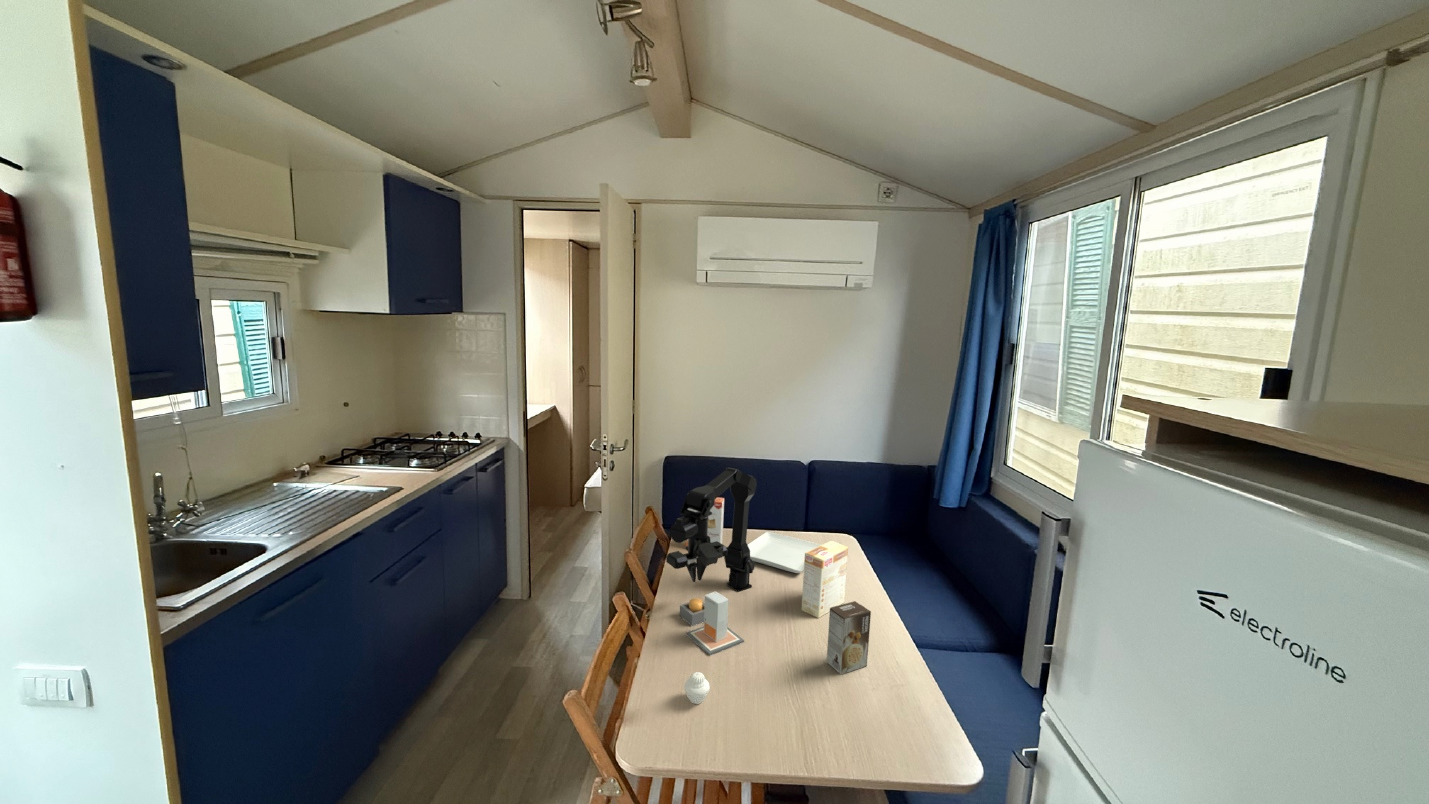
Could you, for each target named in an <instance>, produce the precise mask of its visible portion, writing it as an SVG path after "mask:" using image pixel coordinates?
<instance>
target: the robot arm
mask: <svg viewBox="0 0 1429 804" xmlns="http://www.w3.org/2000/svg"><path fill="white" fill-rule="evenodd" d="M757 484H758V482H757V479H756V478H755V476H754V475H750V474H746V473H744V472H742V470H739V469H736V468H732V467H725V468H724V470H723V472H721V473H720V474H718V475H717V476H716V477H715V478H713V479H712V480H711V481H710V482H709V483H707V484H706V485H704V486H697V487H695V488H693V489H691V490H689V492H688V493H687V494H686V496H685V498H684V501H683V504H682V506H681V508H680V510H679V512H678V513H679V514H678V515H680V516H681V517H678V518H676V519H675V523H672V524H671V526H670V528H669V535H670V538H671V539H672V541H674V542H675V543H676V544H681V543H683V542H686V540H688V546H686V545H685V550H686V551H687V553H682V552H681V551H679V550H678V551H677V550H676V551H673V552H669V553H668V554H667V555H666V557H665V559H666V561H665V562H666V563H667V564H668V565H670V566H671V567H672V568H673V569H675V570H679V569H682V568H683V569H684V568H686V569H687V571H688V573H689V576H690V579H691V581H692V582H693V583H696V579H697V580H698V581H702V578H703V576H704V573H705V571H706V569H707V567H708V566H711V565H714V564H715V565H716V564H717V563H718V560H719V559H721V558H723V559H724V562H725V568H726V569H729V574H728V581H727V582H726V585H727V586H729V587H730V588H732V590H734V591H736V592H741V591H744V590H748V589H751V588H753V586H752V584H750V576H751V575H750V574H753V572H754V570H755V566H756V564H755V563H756V562H755V561H752V560H751V558H750V549H749V547H748V543H747V535H748V521H749V509H750V500H751V499H752V498H753V497H754V496H755V493H756V489H757ZM728 489H730V494H731V496H732V498H733V499H734V503H733V504H734V505H733V506H734V507H733V516H732V518H733V519H732V529H731V530H732V531H731V542H730V543H729V544H728V546H726V545H724V544H723V543H722V544H721V543H719V542H718V541H716V542H712V543H711V542H710V541H711V539H710V537H709V536H708V516H710V515H712V512H711V511H710V509H711V508H712V507H713V506H714V505H715V499H716V498H717V497H718V498H719V497H720V496H721V495H722V494H723V493H724V492H725V491H727V490H728ZM688 508H689V509H693V510H696V511H697V512H694V511H690V510H687V509H688Z"/></svg>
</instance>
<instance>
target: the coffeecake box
mask: <svg viewBox="0 0 1429 804" xmlns="http://www.w3.org/2000/svg"><path fill="white" fill-rule="evenodd" d="M848 552H849V547H848V546H846V545H844V544H841V543H838V542H836V541H834V540H829V541H827V542H825V543H823V544H821V546H819V547H817V548H814V549H812V550H810V551H808V552H806V553H805V560H804V570H803V578H802V579H803V580H802V582H803V583H802V593H801V594H802V595H801V611H802V612H805V613H806V614H809V615H811V616H812V617H815V618H817V619H820V618H821V617H823V616H825V615H826V614H827V613H830V608H831V607H835V606H839V605H842V604H845V598H846V597H845V595H846V594H845V593H846V583H847V582H846V581H847V569H848V556H849V555H848Z"/></svg>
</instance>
